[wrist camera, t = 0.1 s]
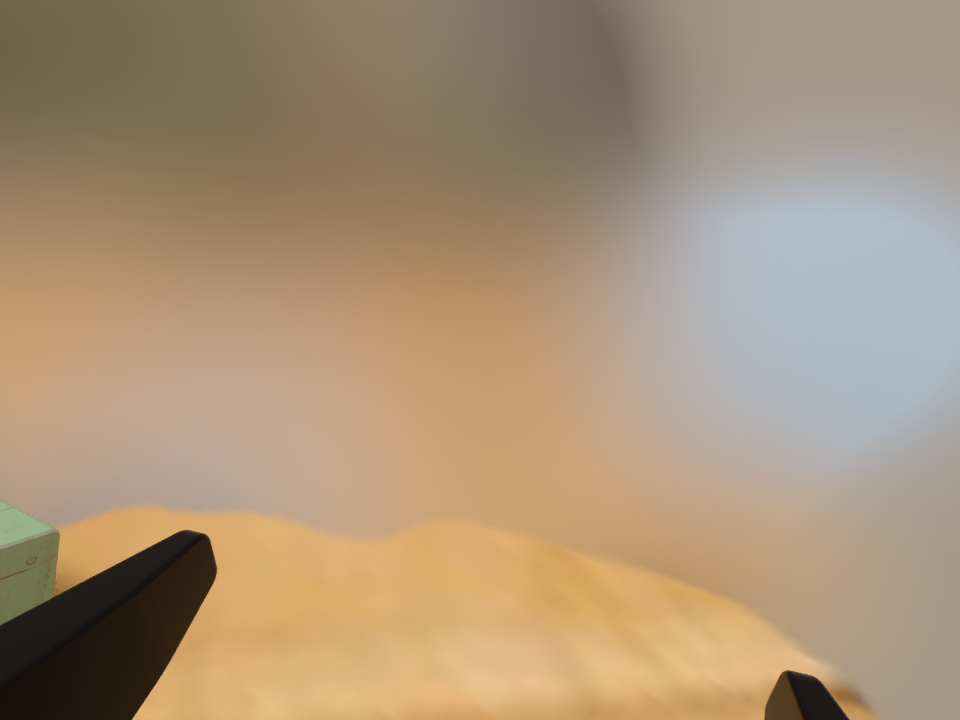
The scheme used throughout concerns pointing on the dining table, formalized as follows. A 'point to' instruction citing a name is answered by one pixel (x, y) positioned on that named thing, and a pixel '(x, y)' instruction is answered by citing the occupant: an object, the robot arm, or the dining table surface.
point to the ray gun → (25, 561)
